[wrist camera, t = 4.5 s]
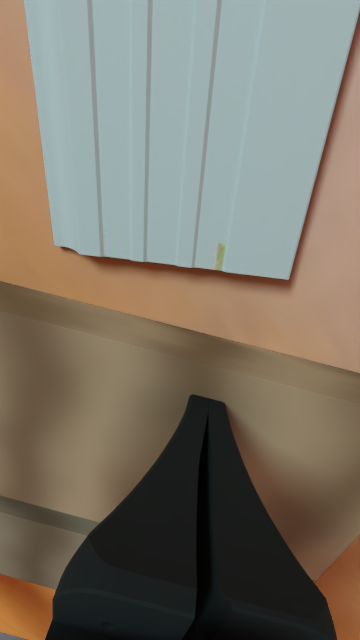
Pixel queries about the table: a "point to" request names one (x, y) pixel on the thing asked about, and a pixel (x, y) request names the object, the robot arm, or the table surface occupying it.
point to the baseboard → (186, 124)
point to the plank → (170, 416)
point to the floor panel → (38, 541)
